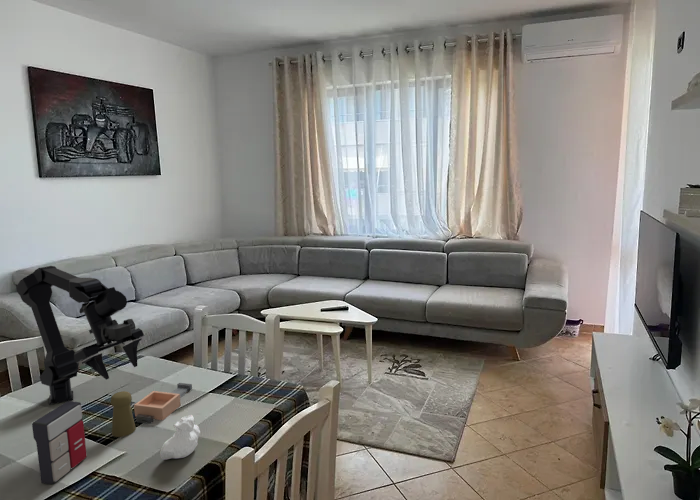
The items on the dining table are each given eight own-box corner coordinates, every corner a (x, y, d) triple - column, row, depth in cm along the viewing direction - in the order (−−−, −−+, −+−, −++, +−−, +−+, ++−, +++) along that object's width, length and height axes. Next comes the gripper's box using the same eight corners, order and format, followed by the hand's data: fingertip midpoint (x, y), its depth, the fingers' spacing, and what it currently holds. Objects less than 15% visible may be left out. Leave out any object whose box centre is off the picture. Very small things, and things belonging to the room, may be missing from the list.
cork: (116, 425, 136) (113, 388, 135) (139, 424, 137) (136, 388, 135) (108, 437, 130) (104, 399, 129) (131, 436, 131) (128, 398, 129)
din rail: (136, 422, 138) (136, 416, 138) (179, 387, 159) (179, 382, 159) (150, 423, 137) (150, 417, 137) (192, 389, 158) (191, 384, 158)
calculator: (54, 485, 111) (47, 425, 108) (38, 483, 112) (31, 423, 109) (89, 457, 121) (83, 401, 119) (74, 455, 122) (68, 400, 120)
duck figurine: (165, 474, 118) (184, 448, 114) (146, 450, 120) (164, 424, 116) (201, 449, 129) (219, 424, 124) (183, 427, 131) (201, 402, 126)
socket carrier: (135, 416, 141) (134, 404, 141) (154, 402, 150) (153, 390, 149) (162, 420, 139) (162, 408, 139) (180, 405, 148) (179, 393, 147)
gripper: (85, 321, 125) (108, 377, 125) (144, 303, 142) (165, 353, 141) (63, 335, 131) (85, 388, 130) (122, 316, 147) (143, 363, 146)
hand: (122, 372), depth 137 cm, fingers open, 9 cm apart
